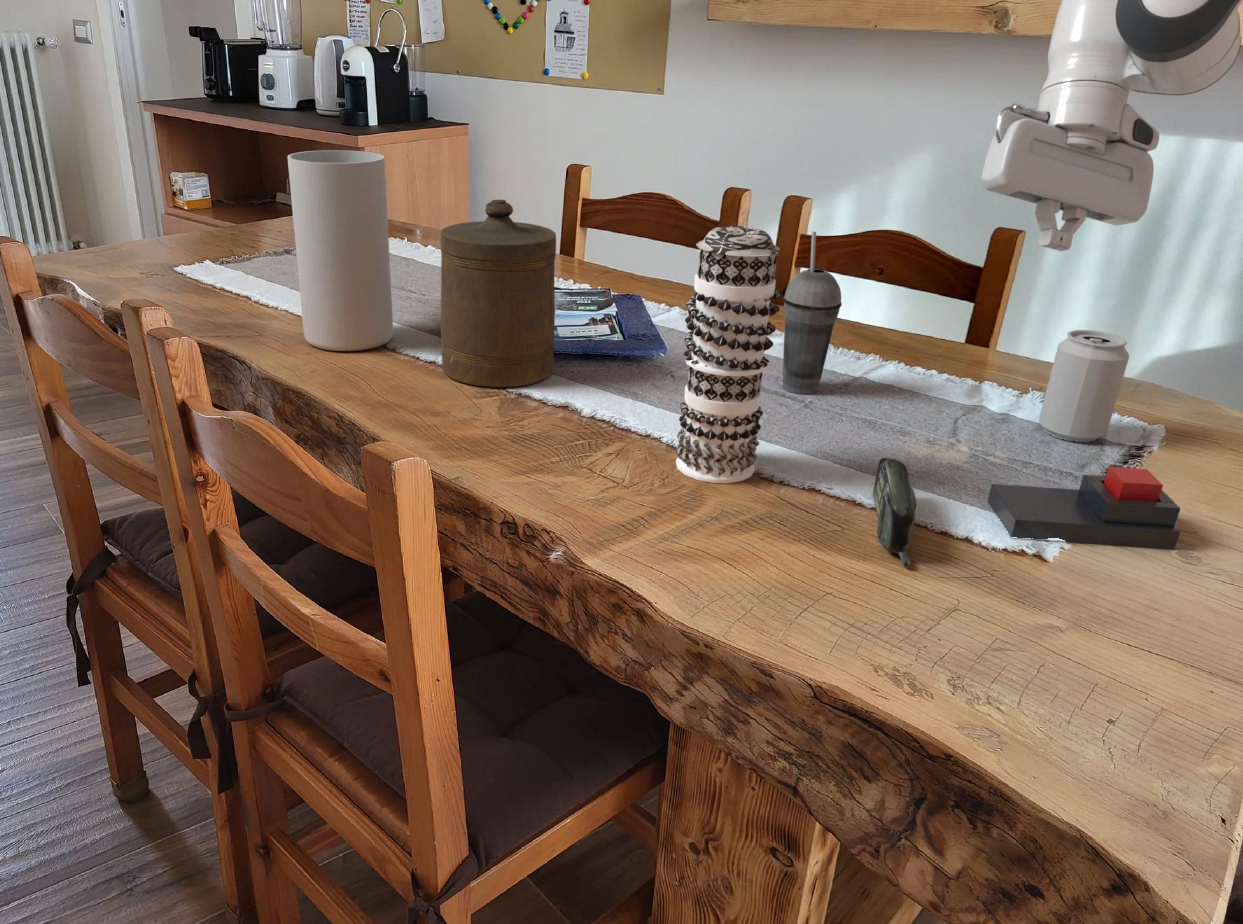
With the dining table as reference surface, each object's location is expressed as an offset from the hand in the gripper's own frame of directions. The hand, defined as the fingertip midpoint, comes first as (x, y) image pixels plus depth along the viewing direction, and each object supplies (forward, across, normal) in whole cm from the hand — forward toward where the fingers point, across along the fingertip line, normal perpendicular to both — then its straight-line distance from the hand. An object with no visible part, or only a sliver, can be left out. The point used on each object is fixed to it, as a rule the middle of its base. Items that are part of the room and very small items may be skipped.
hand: (1053, 248), depth 111 cm
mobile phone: (+33, -23, -12) cm, 42 cm away
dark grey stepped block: (+30, -4, -15) cm, 34 cm away
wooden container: (+22, -52, +38) cm, 68 cm away
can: (+20, +11, +4) cm, 23 cm away
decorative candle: (+30, -34, +4) cm, 46 cm away
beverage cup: (+19, -15, +24) cm, 34 cm away
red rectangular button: (+26, -1, -18) cm, 32 cm away
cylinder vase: (+21, -71, +54) cm, 92 cm away
